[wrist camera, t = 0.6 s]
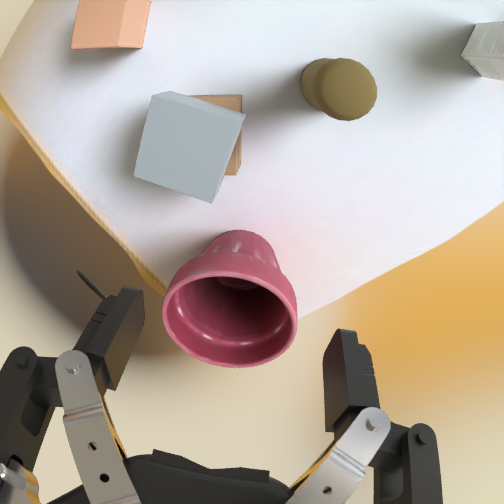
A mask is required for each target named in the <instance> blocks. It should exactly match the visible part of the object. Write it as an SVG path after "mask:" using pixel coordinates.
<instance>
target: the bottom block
mask: <svg viewBox="0 0 504 504" xmlns="http://www.w3.org/2000/svg"><path fill="white" fill-rule="evenodd" d="M189 97H193V98H196V99H200V100H203V101H206V102H209V103H213V104H216V105H219V106H222V107H225V108H228V109H231V110H234V111H237V112H240V113H242V95H195V96H189ZM240 165H241V130H240V133H239V136H238V138H237V141H236V144H235V146H234V149H233V152H232V155H231V157H230V160H229V163H228V166H227V169H226V172H225V174H224V175H236V174H237V172H238V169H239V167H240Z"/></svg>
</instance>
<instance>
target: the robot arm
mask: <svg viewBox="0 0 504 504" xmlns="http://www.w3.org/2000/svg"><path fill="white" fill-rule="evenodd" d="M144 320H145V312H144V301H143V292H142V290H140V289H136V288H132V287H128V286H124V287H123V288H122V289H121V291H120V293H119V294H118V296H117V297H116V296H113V295H110V296H109V297H107V298H106V299H105V300H103V301H102V302H101V303H100V305H99V307H98V308H97V310H96V313H94V315H93V316H92V318H91V321H89V323H88V325H87V326H86V328H85V330H84V331H83V333H82V335H81V336H80V338H79V340H78V342H77V343H76V345H75V347H74V348H73V349H72V350H69V351H66V352H64V353H63V354H61V355H60V356H59V357H57V358H56V357H55V358H54V357H38V356H37V355H36V353H35V352H34V351H33V350H32V349H31V348H29V347H18V348H16V349H14V350H13V351H12V352H11V353H10V354H9V356H8V358H7V360H6V361H5V363H4V365H3V367H2V369H1V371H0V504H41V503H40V501H39V497H38V492H39V484H38V481H37V479H36V477H35V476H34V475H33V473H32V471H33V468H34V465H35V462H36V459H37V456H38V453H39V450H40V447H41V445H42V442H43V439H44V436H45V433H46V431H47V428H48V425H49V423H50V420H51V417H52V415H53V412H54V410H55V407H63V408H64V413H65V415H64V416H63V423H64V426H65V430H66V434H67V438H68V441H69V444H70V448H71V451H72V454H73V457H74V460H75V463H76V466H77V469H78V472H79V475H80V478H81V480H82V483H83V484H82V485H80V486H79V487H77V488H75V489H73V490H71V491H70V492H68V493H66V494H64V495H62V496H60V497H58V498H57V499H55V500H53V501H51V502H49V503H47V504H344V503H345V502H346V501H347V499H348V498H349V497H350V495H351V494H352V493H353V492H354V490H355V489H356V487H357V486H358V485H359V483H360V482H361V480H362V479H363V477H364V475H365V473H364V470H365V468H366V467H367V466H370V467H374V504H443V499H442V484H441V474H440V464H439V456H438V448H437V440H436V435H435V433H434V431H433V430H432V428H431V427H429V426H428V425H426V424H423V423H418V424H415V425H413V426H412V427H411V428H408V427H404V426H401V425H398V424H395V423H393V422H391V421H390V419H389V417H388V416H387V414H385V412H384V411H382V410H381V409H380V405H379V398H378V392H377V386H376V380H375V376H374V369H373V363H372V358H371V354H370V353H369V351H368V349H367V348H366V346H365V345H361V344H359V343H358V338H357V333H356V331H351V330H345V329H337V330H336V332H335V334H334V335H333V337H332V339H331V341H330V343H329V345H328V347H327V349H326V351H325V353H324V357H323V380H324V400H325V401H324V403H325V431H326V432H334V440H333V441H332V442H331V443H330V444H329V446H328V447H327V448H326V449H325V450H324V451H323V453H322V454H321V455H320V456H319V457H318V458H317V460H316V461H315V462H314V463H313V464H312V465H311V466H310V467H309V469H308V470H307V471H306V472H305V473H304V474H303V475H302V476H300V478H299V479H298V480H296V482H295V483H293V484H292V485H291V486H290V487H287V486H286V485H285V484H283V483H282V482H280V481H278V480H276V479H274V478H272V477H269V471H266V470H258V469H250V468H242V467H239V468H226V469H209V468H206V467H204V466H201V465H199V464H197V463H195V462H193V461H191V460H188V459H186V458H184V457H182V456H179V455H174V454H171V453H166V452H163V451H159V450H156V449H153V453H152V454H146V455H137V456H133V457H129V458H128V457H127V455H126V453H125V450H124V448H123V446H122V443H121V441H120V439H119V437H118V434H117V432H116V430H115V427H114V424H113V422H112V419H111V416H110V413H109V410H108V407H107V404H106V402H105V398H104V395H105V392H106V390H107V388H108V389H111V390H114V391H115V390H116V388H117V386H118V383H119V381H120V379H121V376H122V374H123V372H124V369H125V367H126V365H127V362H128V360H129V358H130V355H131V353H132V351H133V349H134V346H135V344H136V342H137V340H138V337H139V335H140V333H141V331H142V328H143V325H144Z"/></svg>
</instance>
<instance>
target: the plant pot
mask: <svg viewBox="0 0 504 504" xmlns="http://www.w3.org/2000/svg"><path fill="white" fill-rule="evenodd" d="M161 315H162V321H163V324H164V327H165V329H166V331H167V333H168V335H169V336H170V337H171V339H172V340H173V341H174V342H175V343H176V344H177V345H178V346H179V347H180V348H181V349H182V350H184V351H185V352H187V353H188V354H189V355H191V356H193V357H195V358H197V359H199V360H201V361H204V362H206V363H209V364H213V365H217V366H222V367H230V368H245V367H253V366H258V365H261V364H265V363H267V362H269V361H272V360H274V359H276V358H277V357H279V356H280V355H281V354H283V353H284V352H285V351H286V350H287V349H288V348H289V347H290V345H291V344H292V342H293V340H294V338H295V335H296V332H297V303H296V297H295V293H294V290H293V288H292V286H291V284H290V282H289V281H288V279H287V278H286V277H285V276H284V275H283V273H282V272H281V270H280V267H279V264H278V262H277V259H276V257H275V254H274V251H273V249H272V247H271V246H270V244H269V243H268V242H267V241H266V240H265V239H264V238H262V237H261V236H259V235H257V234H255V233H253V232H249V231H245V230H233V231H229V232H226V233H224V234H221V235H220V236H218V237H217V238H216V239H215V240H214V241H213V242H212V243H211V244H210V245H209V246H208V247H207V248H206V249H205V250H204V251H203V252H202V253H201V254H200V255H199V256H198V257H196V258H194V259H192V260H190V261H189V262H187V263H186V264H185V265H183V266H182V267H181V268H180V269H179V270H178V271H177V273H176V274H175V276H174V277H173V279H172V281H171V283H170V285H169V287H168V290H167V292H166V294H165V297H164V300H163V303H162V308H161Z"/></svg>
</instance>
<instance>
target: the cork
mask: <svg viewBox="0 0 504 504" xmlns="http://www.w3.org/2000/svg"><path fill="white" fill-rule="evenodd" d="M300 84H301V90H302V93H303V96H304V97H305V99H306V100H307V101H308V103H310V104H311V105H312V106H314V107H315V108H317V109H320V110H322V111H323V112H325V113H326V114H327V115H329V116H330V117H332V118H335V119H338V120H345V121H351V120H355V119H359V118H361V117H362V116H364V115H365V114H367V113H368V112H369V111H370V110H371V108H372V107H373V106H374V103H375V101H376V98H377V87H376V83H375V80H374V78H373V76H372V75H371V73H370V72H369V70H368V69H367V68H365V67H364V66H363V65H362V64H361V63H359V62H356V61H354V60H351V59H344V58H338V59H327V58H323V59H319V60H315V61H314V62H312V63H311V64H309V65H308V66H307V67H306V68H305V70H304V71H303V73H302V76H301V79H300Z"/></svg>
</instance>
